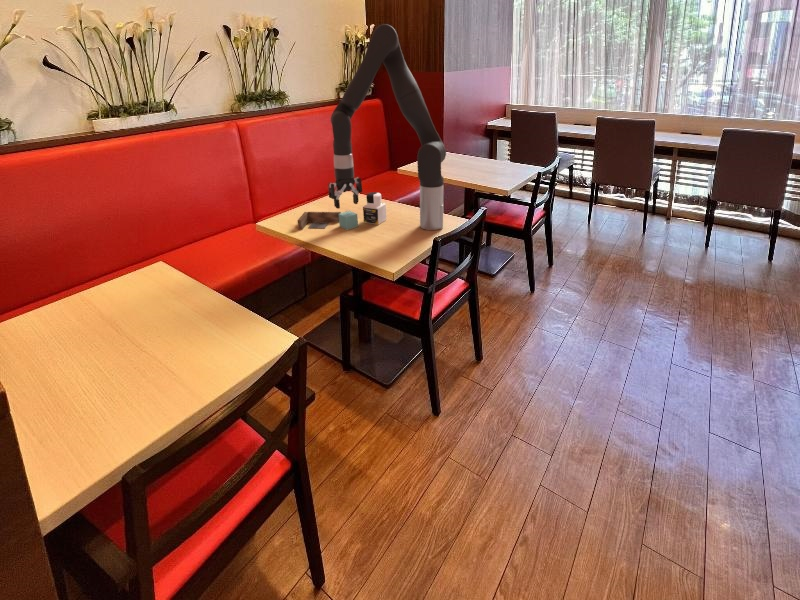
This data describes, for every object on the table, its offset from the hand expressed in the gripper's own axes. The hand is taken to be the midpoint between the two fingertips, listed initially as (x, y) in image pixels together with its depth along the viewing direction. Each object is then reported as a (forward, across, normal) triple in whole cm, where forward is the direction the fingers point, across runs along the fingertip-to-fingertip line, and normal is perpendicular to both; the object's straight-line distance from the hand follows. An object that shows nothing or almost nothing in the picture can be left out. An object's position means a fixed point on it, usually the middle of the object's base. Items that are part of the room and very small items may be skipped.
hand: (346, 205), depth 196 cm
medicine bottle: (+9, -12, +3) cm, 15 cm away
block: (+9, 0, +1) cm, 9 cm away
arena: (+9, +8, -9) cm, 15 cm away
